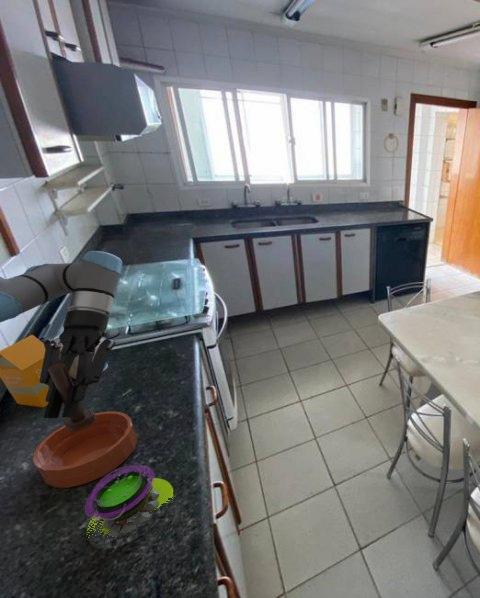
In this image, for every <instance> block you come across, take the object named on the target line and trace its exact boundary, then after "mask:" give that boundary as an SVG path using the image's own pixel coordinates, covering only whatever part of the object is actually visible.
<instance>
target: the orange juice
mask: <svg viewBox="0 0 480 598" xmlns="http://www.w3.org/2000/svg"><path fill="white" fill-rule="evenodd" d="M44 355H45V346H44V342H43V341H41V340H40V339H39V338H37V337H36V336H35V335H34V334H31V335H29V336H27V337H25V338H22V339H21V340H19V341H17V342H15V343H13V344H10V345H9V346H6V347H5V348H2V349H1V350H0V379H1V381H2V382H3V384H4V385H5V387H6V388H7V391H8V392H9V394H11V396H12V398H13V400H14V401H15V402H16V404H17V405H22V406H23V405H24V406H30V407H38V408H45V407H47V405H48V402H46V397H47V393H48V389H49V386H48V385H46V384H43V383H40V376H41V371H42V366H43V360H44Z"/></svg>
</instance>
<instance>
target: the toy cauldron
mask: <svg viewBox="0 0 480 598" xmlns="http://www.w3.org/2000/svg"><path fill="white" fill-rule="evenodd" d="M138 471H139V472H138ZM114 472H116V473H114ZM142 472H143V473H146V476H145V475H143V474H142ZM112 473H113V474H112ZM154 476H156V475H155V471H154V470H153V469H152V468H151V467H149V466H147V465H126V466H122V467H119V468H115V469H114V470H112V471H111V472H109V473H107V474H105V475H104V476H103V478H102V479H100V480H99V482H97V484H96V485H95V487H93V489H92V491H91V493H90V494H89V496H88V498H86V503H85V504H84V506H85V507H84V508H85V509H84V511H85V514H86V515H87V516H88V517H89V518H90V521H89V523H88V526H87V529H86V536H87V535H88V534H87V533H90V532H87V531H88V530H89V529H90V528H91V527H90V526H89V525H90V523H93V524H94V526H92V525H93V524H91V526H92V527H94V528H95V525H97V523H98V522H97V523H94V521H95V520H96V519H98V520H99V519H100V518H101V519H103V520H104V521H100V522H102V524H101V523H99V524H100V525H102V526H103V529H99V530H102V532H103V531H105V532H104V534H108V533H109V534H108V535H109V536H112V537H116V536H118V535H119V533H120V531H121V529H122V533H128V532H131V531H132V530H134V529H136V524H135V523H134V522H132V521H131V522H128V523H126V522H127V519H128V518H130V517H132V516H134V515H135V514H137V513H138V512H140V514H139V515H138V516H137V517H136V518H135V520H136V521H138V522H139V523H142V522H145V521H147V520H149V518H150V514H149V512H152V510H156V509H155V508H159V507H160V506H162V505H161V504H163V503H168V502H166V501H170V500H168V498H172V497H173V498H172V499H173V500H174V494H173V492H174V488H173V485H171V483H170V482H169V481H168V480H165V479H163V478H159V477H154ZM94 501H95V502H96V510H95V509H94V505H93V504H94ZM157 506H158V507H157ZM91 519H92V520H94V521H93V522H92V520H91ZM117 521H118V522H119V524H117V523H116V522H117ZM95 522H96V521H95ZM102 526H101V527H100V528H102ZM88 527H89V528H88ZM98 527H99V526H98ZM94 528H91V529H93V530H95V531H96V529H94ZM97 529H98V528H97ZM89 531H92V530H89ZM95 531H94V532H95ZM98 532H99V531H98ZM102 532H100V533H102ZM106 532H108V533H106ZM92 535H93V534H92ZM100 535H101V534H100ZM89 536H90V535H89ZM95 536H96V535H95ZM103 536H104V535H103ZM107 537H108V536H107ZM88 538H89V537H88Z"/></svg>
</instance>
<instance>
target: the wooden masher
mask: <svg viewBox="0 0 480 598" xmlns="http://www.w3.org/2000/svg"><path fill="white" fill-rule="evenodd" d="M48 371H49V373H50V375H51V377H52V379H53V382H54V384H55V386H56V388H57V390H58V392H59V395H60V397H61V399H62V401H63V403H62V404H63V405H64V406H65V403H66V400H67V396H68V393H69V389H70V386H75V385H74V384H73V380H72V378H71V377H70V375H69V373H68V370H67V368H66V366H65V364H63V363H60V364H55V365H53V366H51V367H49V368H48ZM94 414H95V412H94V410H93V409H91V408H84V405H83V403H82V401H80V402H79V406H78V409H77V413H76V417H64V420H63V425H65V426H66V428H67V430H68V431H79V430H82V429H85V428H87V427H89V426H90V425H92V424H93V423H94V422H95V420H96V417H95V415H94Z"/></svg>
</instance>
